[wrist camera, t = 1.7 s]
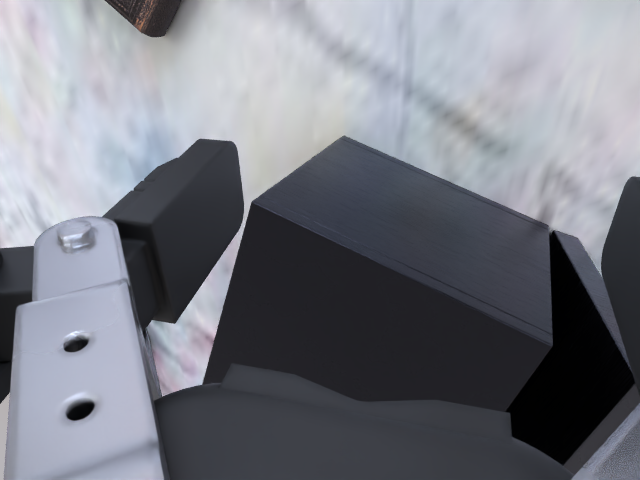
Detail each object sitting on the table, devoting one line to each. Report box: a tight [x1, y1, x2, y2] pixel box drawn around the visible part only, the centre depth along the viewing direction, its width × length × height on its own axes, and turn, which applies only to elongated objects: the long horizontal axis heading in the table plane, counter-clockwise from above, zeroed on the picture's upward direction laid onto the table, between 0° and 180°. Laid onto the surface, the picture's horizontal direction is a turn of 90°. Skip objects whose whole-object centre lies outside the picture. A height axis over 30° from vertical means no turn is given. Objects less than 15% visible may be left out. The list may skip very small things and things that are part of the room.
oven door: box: [505, 230, 640, 475], centre depth 31 cm, size 5×18×13 cm, turn 162°
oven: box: [202, 136, 553, 412], centre depth 32 cm, size 14×18×13 cm
